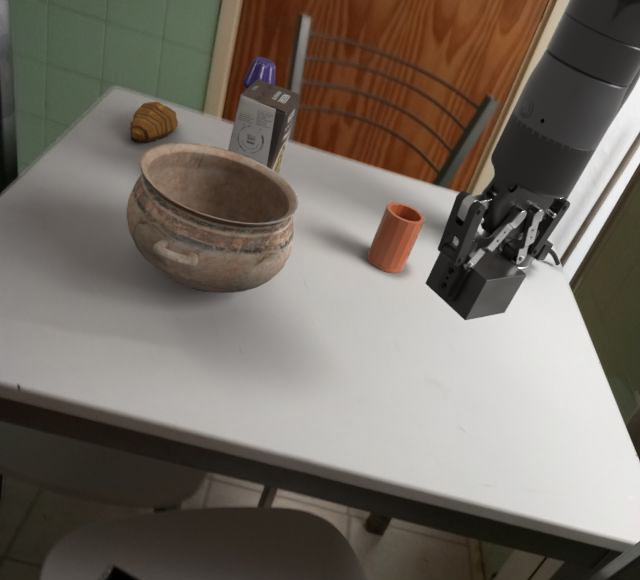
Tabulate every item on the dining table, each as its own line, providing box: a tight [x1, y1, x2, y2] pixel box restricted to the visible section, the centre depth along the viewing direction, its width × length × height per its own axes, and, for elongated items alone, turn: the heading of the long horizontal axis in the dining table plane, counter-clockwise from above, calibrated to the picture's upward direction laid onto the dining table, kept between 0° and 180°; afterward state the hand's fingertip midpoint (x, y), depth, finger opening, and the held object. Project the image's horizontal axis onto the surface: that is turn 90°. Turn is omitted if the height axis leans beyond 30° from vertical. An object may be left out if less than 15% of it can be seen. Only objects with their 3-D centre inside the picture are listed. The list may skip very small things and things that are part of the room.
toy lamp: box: [242, 56, 276, 90], centre depth 101 cm, size 5×5×17 cm
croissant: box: [129, 101, 179, 144], centre depth 105 cm, size 14×7×5 cm, turn 165°
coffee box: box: [227, 79, 301, 175], centre depth 93 cm, size 9×6×16 cm
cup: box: [366, 201, 426, 274], centre depth 97 cm, size 6×6×8 cm
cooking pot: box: [125, 142, 300, 294], centre depth 79 cm, size 25×19×12 cm
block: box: [424, 240, 527, 321], centre depth 66 cm, size 6×6×4 cm
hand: (467, 292), depth 67 cm, fingers closed on block, 6 cm apart
